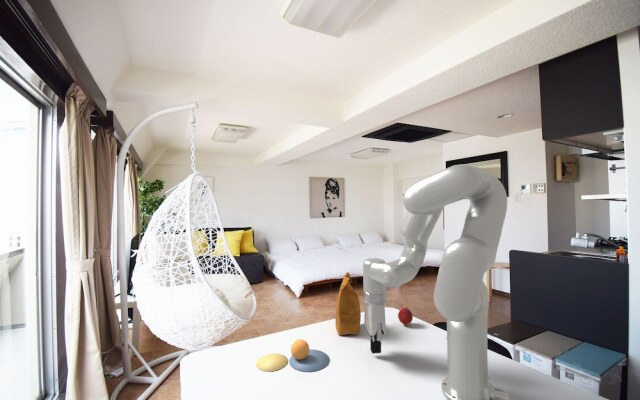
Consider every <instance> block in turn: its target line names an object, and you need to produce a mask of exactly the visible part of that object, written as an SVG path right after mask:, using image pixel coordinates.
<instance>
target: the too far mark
mask: <svg viewBox="0 0 640 400" xmlns="http://www.w3.org/2000/svg"><path fill="white" fill-rule="evenodd" d="M288 362H289V360H288V357H287V356H285V355H284V354H281V353H269V354H265V355H263V356H261V357H259V358H258V359H257V361H256V368H257V369H258V370H260V371H263V372H276V371H280V370H281V369H283V368H285V367H286V366H287V365H288Z"/></svg>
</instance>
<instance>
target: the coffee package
mask: <svg viewBox="0 0 640 400" xmlns="http://www.w3.org/2000/svg"><path fill="white" fill-rule="evenodd" d="M350 277H351V274H350V272H348V271H347V272H345V275H344V277H343V279H342V282H341V284H340V287H339V292H338V296H337V301H336V304H335V329H336V332H337V334H338V335H339V336H345V335H358V334H360V330H361V305H360V303H361V302H360V298H359V295H358V294H357V293H356V290H355V289H354V287H353V286H352V284H351V283H353V279H351V278H350Z"/></svg>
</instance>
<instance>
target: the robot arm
mask: <svg viewBox="0 0 640 400" xmlns="http://www.w3.org/2000/svg"><path fill="white" fill-rule="evenodd" d="M402 197H403V199H402V202H403V206H404V208H405V210H406V211H407V212H406V215H405V217H404V219H403V220H402V224H401V226H400V229H399V230H400V233H401V234H402V236H403V237H404V240H405V241H404V242H405V243H404V246H403V249H402V251H401V253H400V256H399V258H398V259H396V260H392V261H390V262H386V261H385V260H384V259H381V258H376V257H371V258H370V257H368V258H366V259H364V260H363V263H362V273H363V274H362V277H363V278H362V279H363V280H362V281H363V283H362V285H363V302H364V321H363V322H364V323H363V324H364V327H365V328H366V331H367V332H368V334H369V335H370V338H369V339H370V340H369V341H370V348H369V349H370V352H371V354H382V341H383V337H382V335H383V336H385V335H386V328H387V327H386V326H387V325H386V307H385V304H386V303H388V302H387V299H388V298H387V297H388V296H387V293H388V291H387V288H390V289H395V288H397V287H400V286H402V285H404V284H406V283H408V282H411V281H412V280H413V279H414V278H415V277H416V276H417V274H418V272H419V270H420V268H421V266H422V265H423V262H424V260H425V259H426V255H427V249H428V242H429V238H430V237H431V234H432V233H433V230H434V229H435V226H436V224H437V222H438V220H439V219H440V216H441V214H442V212H443V210H444V208H445V207H446V206H448V205H451V204H454V203H456V202H459V201H462V200H469V204H470V205H469V208H468V211H467V212H466V216H465V219H464V223H463V228H462V232H461V235H460V238H458V239H456V240H454V241H452V242H451V243H450V244H448V246H447V247H446V248H445V250H444V252H443V254H442V258H441V261H440V264H439V265H440V266H439V269H438V273H437V278H436V281H435V286H434V291H433V303H434V307H435V308H436V310H437V312H438V314H439V315H440V316H441V317H442V318H443V319H445V320H446V351H447V352H446V353H447V354H446V356H447V359H446V361H447V364H446V365H447V377H445V379H443V380H442V382H441V392H442V393H443V395H444V396H445V398H446V399H448V400H497V399H498V400H510V393H509V392H505V391H504V387H501V386H498V385H494V384H493V383H490V381H491V380H490V379H491V378H490V377H489V371H488V370H489V368H488V367H489V366H488V365H489V364H488V361H489V359H488V355H489V354H488V318H489V317H488V315H489V304H490V295H489V290H488V288H487V285H486V284H485V282H484V281H483V279H484V276H485V273H487V272H488V271H490V269H492V268H493V266H494V265H495V262H496V258H497V254H498V253H497V252H498V248H499V245H500V241H501V237H502V232H503V228H504V223H505V218H506V215H507V212H508V211H507V210H508V195H507V191H506V189H505V187H504V185H503V183H502V182H501V181H500V179H498V178H497V177H496V176H495V175H494V174H492V173H491V172H489V171H487V170H485V169H484V168H481V167H477V166H473V165H469V164H454V165H452V166H449V167H447V168H445V169H442V170H440V171H438V172H436V173H434V174H432V175H430V176H428V177H426V178H424V179H420V180H419V181H417V182H415V183H413V184H412V185H410V186H409V187H408V188H407V189H406V190H405V192H404V194H403V196H402Z"/></svg>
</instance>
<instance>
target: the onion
mask: <svg viewBox="0 0 640 400" xmlns="http://www.w3.org/2000/svg"><path fill="white" fill-rule="evenodd" d="M397 318H398V320H399V322H400V323H401V324H402V325H404V326H408V325H410V324H411V323H412V321H413V318H414V317H413V313H412V311H411V310H410V309H409V308H407V306H406V305H404V306H403V308H401V309H399V311H398V314H397Z"/></svg>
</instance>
